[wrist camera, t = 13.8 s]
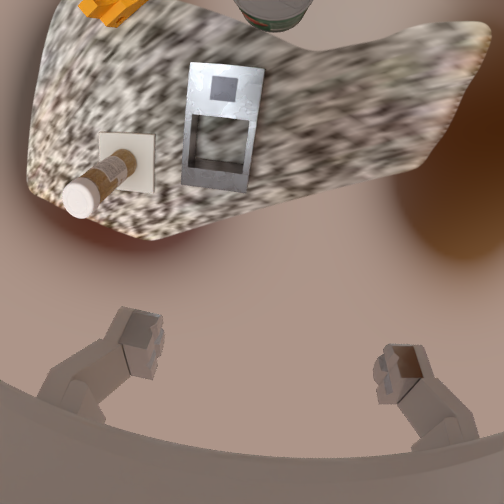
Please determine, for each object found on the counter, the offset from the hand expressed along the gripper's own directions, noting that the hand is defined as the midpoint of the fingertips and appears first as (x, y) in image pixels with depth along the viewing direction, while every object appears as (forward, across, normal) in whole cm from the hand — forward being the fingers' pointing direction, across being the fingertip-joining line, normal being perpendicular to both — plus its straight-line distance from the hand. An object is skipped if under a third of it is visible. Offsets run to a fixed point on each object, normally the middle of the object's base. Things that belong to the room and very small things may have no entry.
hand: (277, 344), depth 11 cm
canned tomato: (+34, +3, -17) cm, 38 cm away
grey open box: (+34, +7, 0) cm, 35 cm away
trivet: (+34, +21, +7) cm, 41 cm away
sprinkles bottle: (+34, +21, +7) cm, 40 cm away
